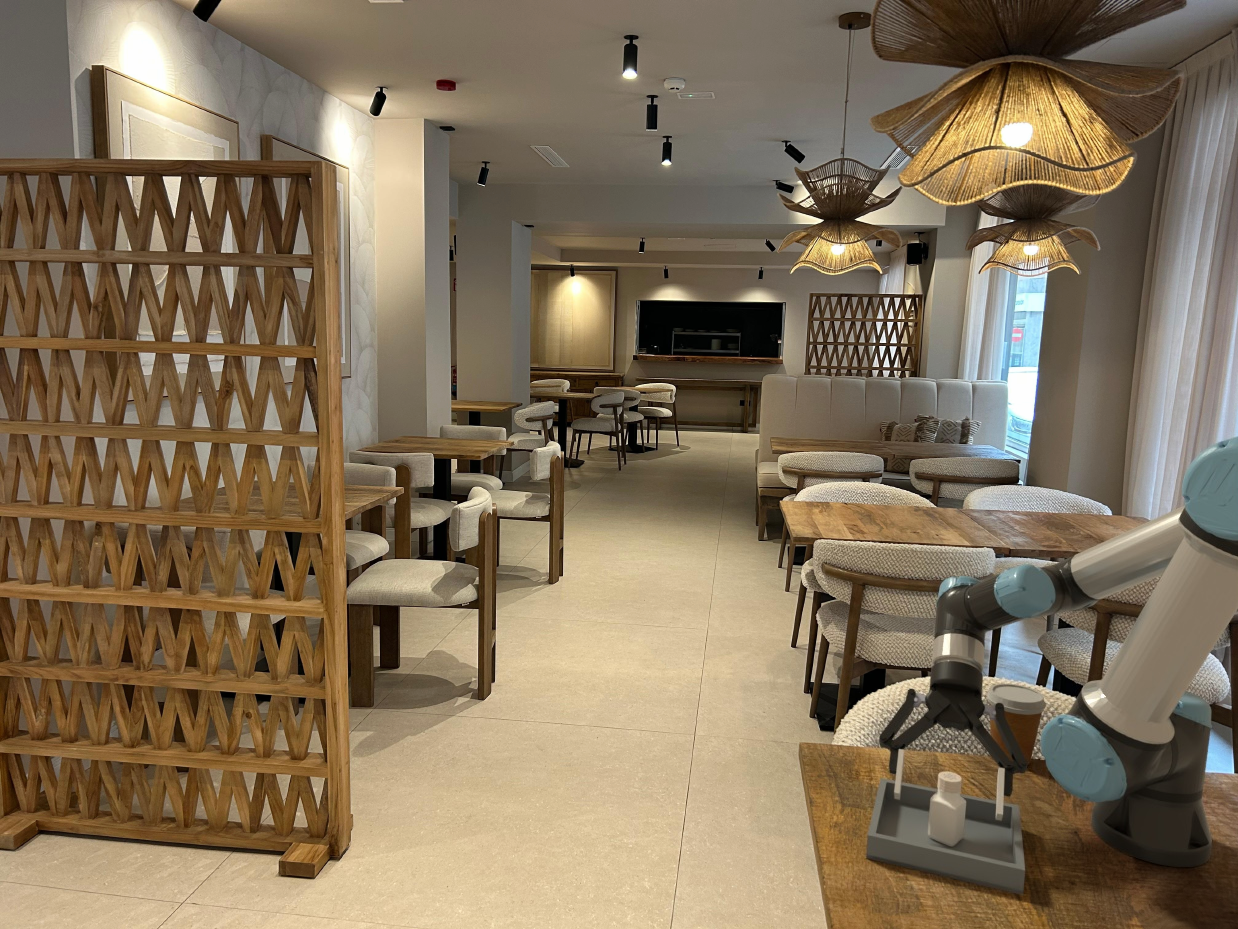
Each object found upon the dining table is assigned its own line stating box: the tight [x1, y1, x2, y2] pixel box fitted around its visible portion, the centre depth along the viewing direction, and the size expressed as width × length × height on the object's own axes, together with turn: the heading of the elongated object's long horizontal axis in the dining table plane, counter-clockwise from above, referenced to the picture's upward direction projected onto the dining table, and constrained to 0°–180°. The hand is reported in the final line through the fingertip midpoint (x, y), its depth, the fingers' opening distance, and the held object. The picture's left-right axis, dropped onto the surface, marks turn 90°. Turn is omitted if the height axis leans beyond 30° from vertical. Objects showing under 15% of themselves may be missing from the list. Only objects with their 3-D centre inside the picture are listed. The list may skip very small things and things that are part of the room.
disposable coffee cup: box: [986, 683, 1047, 765], centre depth 152 cm, size 10×10×12 cm
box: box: [865, 777, 1026, 896], centre depth 125 cm, size 20×18×4 cm
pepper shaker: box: [928, 771, 966, 846], centre depth 125 cm, size 4×4×10 cm
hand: (947, 806), depth 122 cm, fingers open, 13 cm apart
